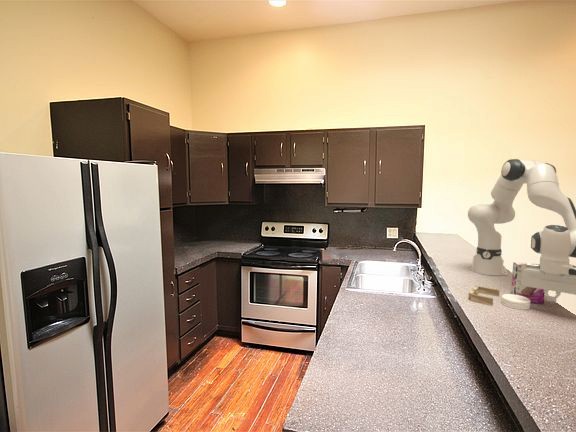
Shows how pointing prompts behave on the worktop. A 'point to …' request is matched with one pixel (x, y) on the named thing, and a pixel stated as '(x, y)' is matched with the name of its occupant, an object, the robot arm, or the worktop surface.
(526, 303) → the coaster
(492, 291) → the holder
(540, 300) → the candy bar box
